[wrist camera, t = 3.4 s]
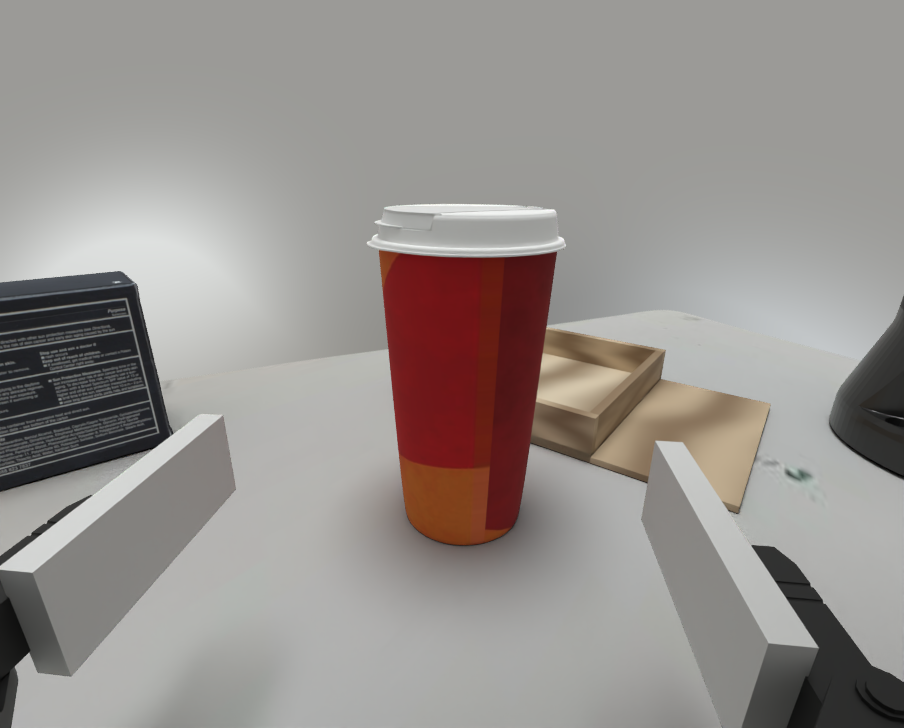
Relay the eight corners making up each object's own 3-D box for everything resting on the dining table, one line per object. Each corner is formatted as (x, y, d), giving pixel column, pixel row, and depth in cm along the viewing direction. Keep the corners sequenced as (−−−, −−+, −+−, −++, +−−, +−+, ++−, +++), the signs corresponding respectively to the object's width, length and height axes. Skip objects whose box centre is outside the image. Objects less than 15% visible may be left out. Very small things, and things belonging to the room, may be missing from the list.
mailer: (769, 408, 37) (779, 371, 36) (737, 513, 25) (750, 463, 24) (501, 347, 50) (502, 318, 49) (398, 397, 39) (397, 361, 37)
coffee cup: (501, 454, 31) (514, 202, 25) (572, 540, 23) (612, 212, 18) (367, 478, 28) (351, 203, 23) (401, 583, 21) (388, 216, 16)
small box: (156, 408, 36) (124, 266, 33) (176, 443, 32) (141, 282, 28) (-38, 455, 30) (-105, 286, 27) (-49, 507, 26) (-133, 310, 22)
